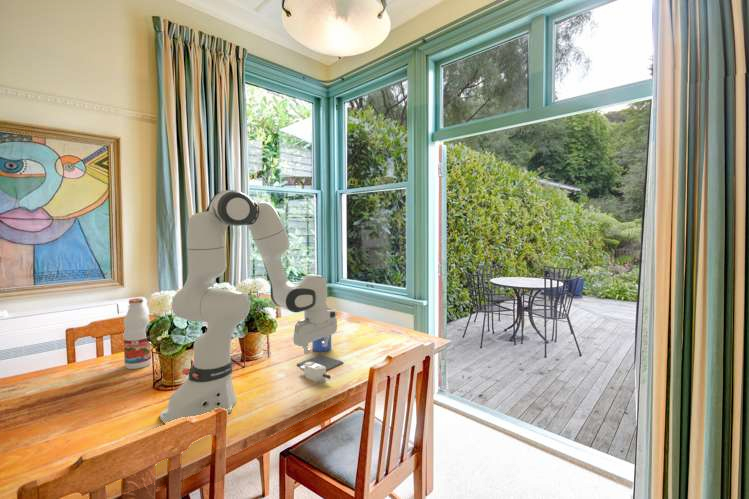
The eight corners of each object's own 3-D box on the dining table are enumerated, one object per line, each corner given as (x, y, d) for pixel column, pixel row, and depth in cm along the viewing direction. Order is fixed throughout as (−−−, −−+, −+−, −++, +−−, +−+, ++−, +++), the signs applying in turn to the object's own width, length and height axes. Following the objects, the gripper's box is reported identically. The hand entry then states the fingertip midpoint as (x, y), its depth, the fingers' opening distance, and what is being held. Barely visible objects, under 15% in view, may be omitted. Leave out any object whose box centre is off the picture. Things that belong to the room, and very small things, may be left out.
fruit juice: (154, 359, 157) (152, 296, 155) (147, 368, 148) (145, 301, 146) (129, 361, 154) (126, 297, 152) (121, 370, 145) (118, 302, 143)
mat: (320, 373, 145) (320, 372, 145) (296, 365, 153) (296, 363, 153) (343, 363, 156) (343, 361, 156) (320, 355, 165) (320, 354, 165)
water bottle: (333, 345, 178) (333, 295, 176) (329, 352, 169) (329, 300, 167) (314, 344, 179) (314, 295, 177) (309, 351, 170) (309, 299, 168)
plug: (333, 381, 138) (333, 369, 138) (325, 385, 135) (325, 372, 135) (305, 371, 147) (305, 359, 147) (298, 374, 144) (298, 362, 144)
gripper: (301, 323, 129) (301, 360, 131) (339, 311, 145) (339, 344, 147) (289, 320, 133) (290, 356, 134) (328, 308, 149) (328, 340, 151)
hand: (316, 349), depth 141 cm, fingers open, 8 cm apart
